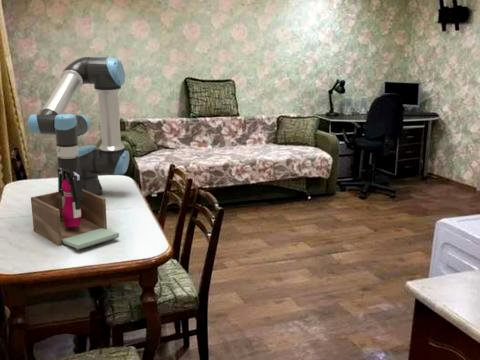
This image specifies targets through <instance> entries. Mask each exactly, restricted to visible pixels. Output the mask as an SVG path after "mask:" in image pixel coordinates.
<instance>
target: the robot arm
mask: <svg viewBox="0 0 480 360" xmlns="http://www.w3.org/2000/svg"><path fill="white" fill-rule="evenodd" d="M125 81H126V72H125V68H124V65H123V63H122V61H121V60H120V59H118V58H116V57H108V56H107V57H102V56H101V57H97V56H95V57H94V56H93V57H91V56H84V57H80V58H78V59H75V60H74V61H72V62H71V63H70V64H68V65H67V66H66V67H65V68H64V69H63V71H62V72H61V75H60V81H59V82H58V83H57V85H56V87H55V89H54V90H53V92H52V93H51V95H50V97H49V98H48V100H47V101H46V103H45V104H44V106H43V108H42V109H41V111H40V112H39V114H38V113H35V114H31V115H29V117H28V120H27V126H28V130H29V132H31V134H37V135H53V136H55V141H56V143H55V144H56V149H55V151H56V155H57V167H58V168H57V177H58V178H57V179H58V180H57V182H58V184H57V187H58V188H57V190H58V191H57V192H59V193H61V196H62V203H63V207H64V204H65V196H64V193H63V192H64V190H63V189H62V182H63V180H65V179H67V181H68V184H70V186H71V192H72V196H73V200H74V201H72V203H73V218H77V217H81V208H80V201H81V200H84V198H83V191H82V189H84V190H86V191H88V192H91V193H93V194H95V195H98V196H100V197H101V196H102V194H103V193H104V192H103V186H102V184H101V181H100V179H99V175H111V176H122V175H124V174H126V172H127V171H128V168H129V164H130V152H129V150H125V145H124V144H123V143H122V140H121V139H122V137H121V123H120V121H121V119H120V106H119V103H120V102H119V91H120V90H121V89H122V86H124V84H125ZM87 84H88V85H93V87H94V90H95V91H96V92H97V96H98V107H99V120H100V135H101V144H100V146H99V147H97V146H96V145H93V144H91V145H89V144H88V145H82V146H79V142H78V137H80V136H83V135H84V134H86V133H88V131H90V128H91V121H90V119H89V118H88V117H87V116H86V115H84V114H76V115H75V114H73V113H72V114H71V113H65V112H66V110H67V108H68V106H69V104H70V102H71V101H72V99H73V98H74V96H75V94H76V92H77V91H78V90H79V89H81V88H82V86H83V85H87ZM71 181H73V182H71Z"/></svg>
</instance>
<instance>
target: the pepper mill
mask: <svg viewBox="0 0 480 360" xmlns="http://www.w3.org/2000/svg"><path fill="white" fill-rule="evenodd" d="M71 182H73V181H71ZM62 189H63V190H64V192H63V193H64V196H65V204H64V207H63V210H62V217H63V218H64V219H65V220H64V226H66V227H76V226H79V225H81V219H80V217H77V218H73V203H72V201H74V200H73V196H72V192H71V186H70V184H68V181H67V179H65V180H63V182H62ZM81 215H82V211H81Z"/></svg>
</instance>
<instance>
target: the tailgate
mask: <svg viewBox="0 0 480 360" xmlns="http://www.w3.org/2000/svg"><path fill="white" fill-rule="evenodd" d="M119 237H120V232H118V231H117V232H116V231H114V230H109V229H108V228H107V229H103V228H100V229H97V230H93V231H90V232H86V233H83V234H79V235H76V236H72V237H69V238H65V239H62V244H63V245H67V246H69V247H72V248H75V249H76V251H79V250H82V249H85V248H89V247H92V246H96V245H99V244H101V243H104V242H108V241H110V240H114V239H117V238H119Z"/></svg>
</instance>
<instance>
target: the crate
mask: <svg viewBox="0 0 480 360" xmlns="http://www.w3.org/2000/svg"><path fill="white" fill-rule="evenodd" d="M82 191H83V198H84V200H81V201H80V208H81V211H82V215H81V217H80V219H81V225H79V226H76V227H66V226H64V220H65V219H64V218H63V217H62V210H63V203H62V196H61V193H59V192H58V191H56V192H55V191H54V192H51V193H46V194H41V195H36V196H31V197H30V201H31V202H30V203H31V214H32V225H33V227H32V228H33V231H34V232H35V233H37V234H39V235H41V236H42V237H43V238H46V239H47V240H48V241H50V242H52V243H53V244H55V245H57V246H58V247H60V246H63V243H62V239H65V238H69V237H72V236H76V235H79V234H83V233H86V232H90V231H93V230H97V229H100V228H103V229H107V230H108V222H107V204H106V202H107V201H106V200H107V199H106V198H104V197H102V196H101V195H100V196H98V195H95V194H93V193H91V192H88V191H86V190H84V189H82Z"/></svg>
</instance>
